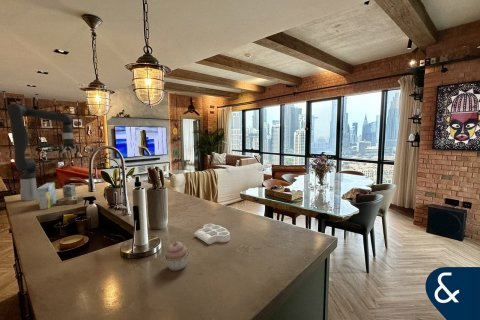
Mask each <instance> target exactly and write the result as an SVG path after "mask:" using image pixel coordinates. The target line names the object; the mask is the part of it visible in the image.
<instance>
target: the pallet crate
mask: <svg viewBox="0 0 480 320" xmlns="http://www.w3.org/2000/svg"><path fill="white" fill-rule="evenodd" d="M62 193H63V196H62V198H63V200H71V199H73V198H76V197H77V193H76V184H65V185H64V186H62Z"/></svg>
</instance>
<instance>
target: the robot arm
mask: <svg viewBox="0 0 480 320" xmlns="http://www.w3.org/2000/svg"><path fill="white" fill-rule="evenodd" d="M6 111H7V115H8V119H9V121H10V130H11V138H12V142H13V148H14V165H15V168H16V169H17V170H18V171H21V172H22V171H24V172H23V173H21V175H20V176H19V181H20V189H19V192H20V201H21V202H22V201H23V202H26V201H29V202H30V201H34V200H38V196H37V187H38V186H37V180H36V178H37V177H36V175H37V163H36V161H35V160H34V159H33V158H32V157H26V151H27V148H28V146H29V143H30V138H29V133H28V130H27V128H26V126H25V124H24V120H23V117H26V118H27V117H29V118H38V119H41V120H47V121H53V122H54V121H55V122H56V121H57V122H59V123H60V122H61V123H62V127H61V130H62V131H61V132H62V144H63V145H58V149H59V150H58V151H59V153H60V154H62V158H63V159H65V158H66V157H67V156H66V153H67V152H68V151H71V152H73V155H74V158H77V157H78V153H80V146H79V145H78V144H75V137H74V136H75V135H74V132H73V122H74V121H73V117H72V116H71V115H70V114H68V113H62V112H55V111H50V110H42V109H34V108H29V107H26V106H23V105H21V104H19V103H10V104H8V106H7V107H6Z"/></svg>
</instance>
